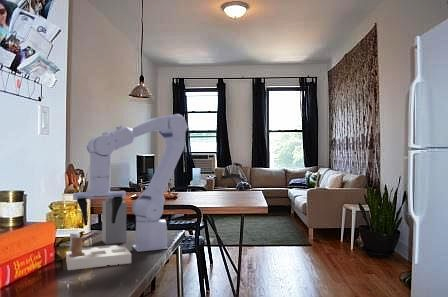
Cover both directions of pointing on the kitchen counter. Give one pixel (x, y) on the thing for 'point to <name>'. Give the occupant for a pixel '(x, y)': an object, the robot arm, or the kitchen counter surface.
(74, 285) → the kitchen counter surface
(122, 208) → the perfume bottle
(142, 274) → the kitchen counter surface
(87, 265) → the peg board
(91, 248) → the studded grey block
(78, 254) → the terracotta pin
